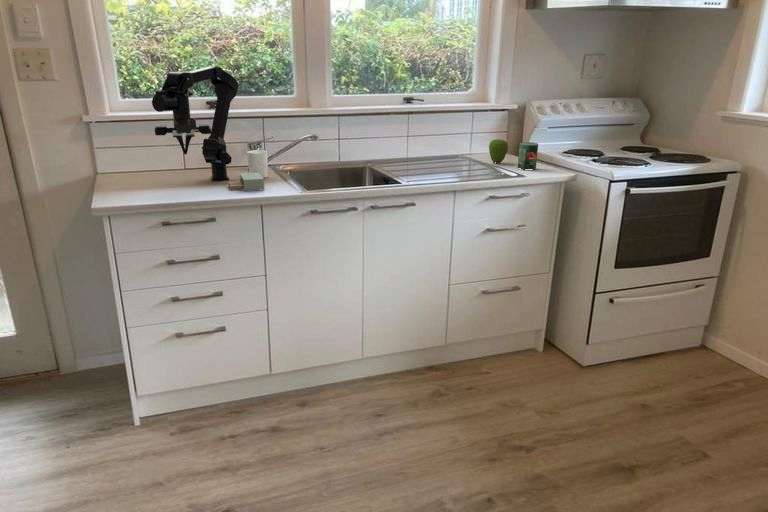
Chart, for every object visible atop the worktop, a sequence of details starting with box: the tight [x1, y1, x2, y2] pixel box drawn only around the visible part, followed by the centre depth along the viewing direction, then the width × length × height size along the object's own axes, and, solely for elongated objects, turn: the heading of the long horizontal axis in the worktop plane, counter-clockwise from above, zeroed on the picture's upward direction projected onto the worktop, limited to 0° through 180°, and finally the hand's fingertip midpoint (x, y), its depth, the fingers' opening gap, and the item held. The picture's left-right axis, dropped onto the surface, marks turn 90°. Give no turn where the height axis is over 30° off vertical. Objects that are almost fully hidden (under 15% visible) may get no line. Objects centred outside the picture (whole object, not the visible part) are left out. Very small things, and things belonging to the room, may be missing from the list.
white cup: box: [246, 149, 269, 179], centre depth 232 cm, size 8×8×10 cm
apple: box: [488, 138, 509, 164], centre depth 266 cm, size 9×8×12 cm
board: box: [228, 181, 244, 191], centre depth 215 cm, size 7×10×2 cm
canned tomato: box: [517, 141, 539, 170], centre depth 255 cm, size 8×8×11 cm
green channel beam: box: [239, 172, 265, 192], centre depth 215 cm, size 12×7×4 cm, turn 20°
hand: (185, 154), depth 210 cm, fingers closed
